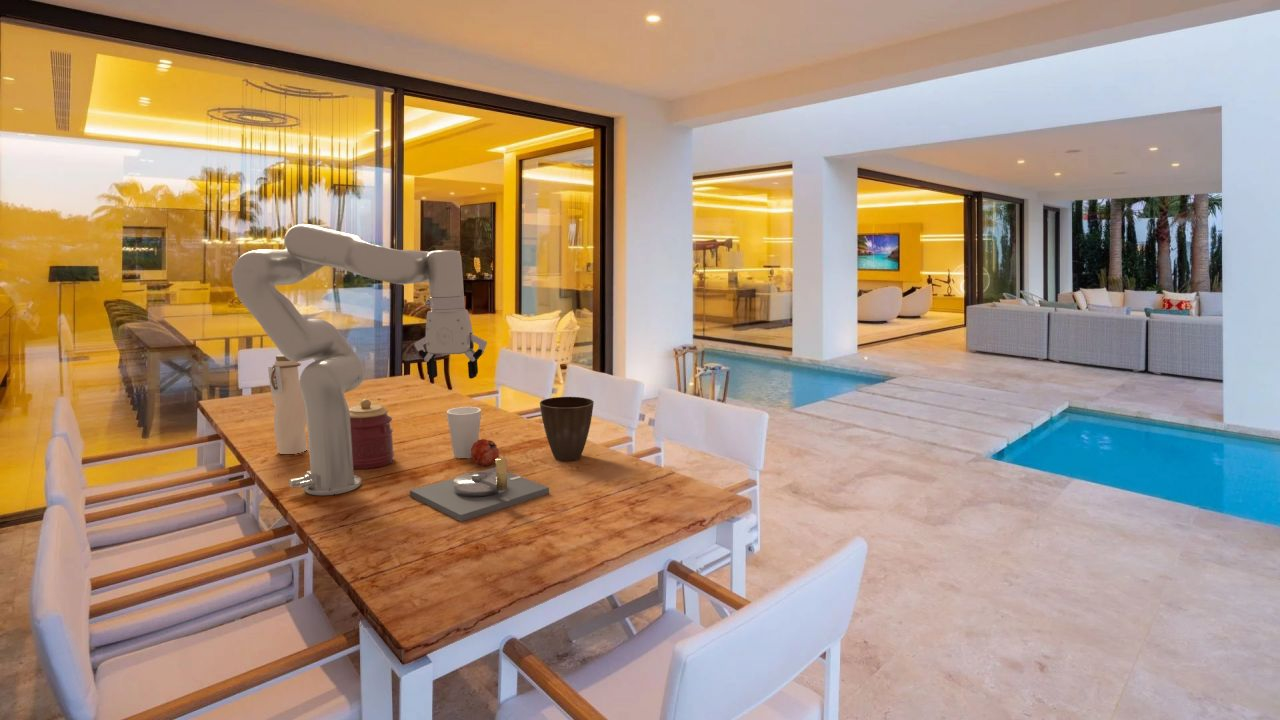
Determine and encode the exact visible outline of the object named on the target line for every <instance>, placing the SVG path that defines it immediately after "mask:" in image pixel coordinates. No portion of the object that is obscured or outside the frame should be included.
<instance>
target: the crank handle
mask: <svg viewBox="0 0 1280 720" xmlns="http://www.w3.org/2000/svg"><path fill="white" fill-rule="evenodd" d="M507 459H508V458H506V457H503V456H501V457H500V456H499V457H498V458H496V462H495V467H496V472H489V471H483V470H481V471H473V472H467V473H463V474H461V475H458V476H456V477H454V478H455V479H454V481H453V485H454V492H455V493H457V494H459V495H463V496H471V497H477V496H487V495H492V494H495V493H500V492H504V491H505V490H506V489H507V472H508V464H507V463H508V461H507Z"/></svg>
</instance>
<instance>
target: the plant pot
mask: <svg viewBox="0 0 1280 720" xmlns="http://www.w3.org/2000/svg"><path fill="white" fill-rule="evenodd" d="M594 403H595V402H594V400H593V399H591V398H586V397H580V396H557V397H549V398H545V399H543V400H540V402H539V407H540V414H541V418H542V424H543V427H544V432H545V435H546V438H547V439H546V440H547V442H548V445H549V447H550V450H551V453H552V455H553V458H554V459H555V460H557V461H560V462H561V461H563V462H573V461H577V460H579V459H581V457H582V455H583V452H584V449H585V446H586V443H587V439H588V436H589V432H590V427H591V423H592V418H593V410H594Z"/></svg>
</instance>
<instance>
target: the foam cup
mask: <svg viewBox="0 0 1280 720" xmlns="http://www.w3.org/2000/svg"><path fill="white" fill-rule="evenodd" d="M481 420H482V409H481V408H479V407H474V406H461V407H453V408H450V409H448V410H446V421H447V423H448V429H449V435H450V439H451V440H450V441H451V446H452V453H453V456H454V458H455V459H460V458H467V459H471V458H472V457H471V448H472V446H473V444H474V443H475V442H477V441H478V440H480V427H481ZM472 459H473V458H472Z"/></svg>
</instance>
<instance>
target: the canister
mask: <svg viewBox="0 0 1280 720" xmlns="http://www.w3.org/2000/svg"><path fill="white" fill-rule="evenodd" d="M359 404H360V405H354V406H352V407H350V408H349V407H348V408H349V412H350V422H351V436H352V452H353V468H354V470H365V469H366V470H367V469H368V468H369V469H376V468H381V467H384V466H387V465H389V464H392V462H393V461H394V456H395V451H394V443H393V439H394V438H393V432H394V430H393V428H392V426H391V422H392V421H393V417H392V416H390V415H389V414H388V413H389V409H388V408H385V407H384V406H383V405H381V404H372V402H371V401H370V400H369V399H365V398H364V399H362V400H361V401H360V403H359ZM386 464H387V465H386ZM380 466H381V467H380ZM375 467H376V468H375ZM369 469H368V470H369Z"/></svg>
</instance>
